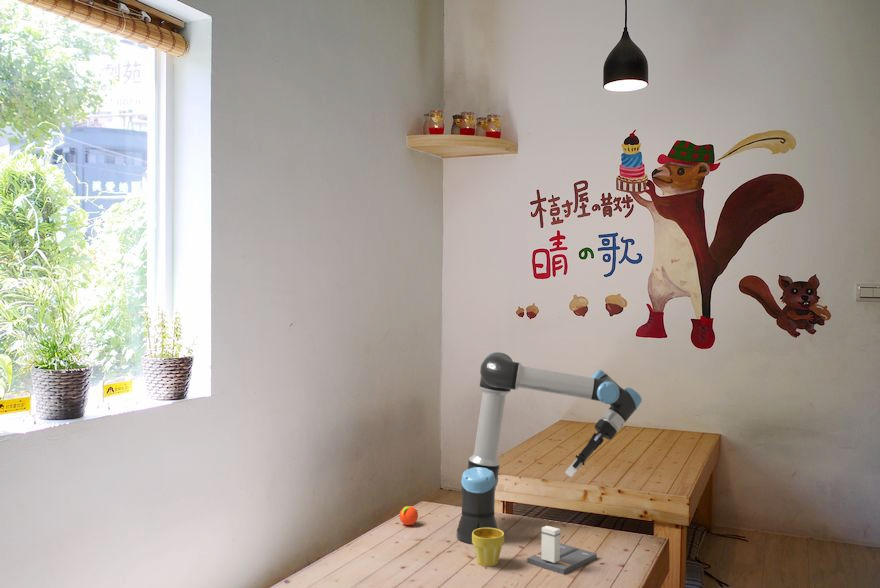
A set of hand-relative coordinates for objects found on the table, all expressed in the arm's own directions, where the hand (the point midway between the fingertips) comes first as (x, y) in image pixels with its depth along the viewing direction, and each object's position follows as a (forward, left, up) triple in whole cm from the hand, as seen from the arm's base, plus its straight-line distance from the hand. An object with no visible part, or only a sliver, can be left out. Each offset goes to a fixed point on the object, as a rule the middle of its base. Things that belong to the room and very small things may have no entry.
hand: (567, 475), depth 261 cm
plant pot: (-6, -36, -23) cm, 43 cm away
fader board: (+10, -18, -23) cm, 30 cm away
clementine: (-51, -28, -23) cm, 63 cm away
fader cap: (+10, -24, -21) cm, 33 cm away
